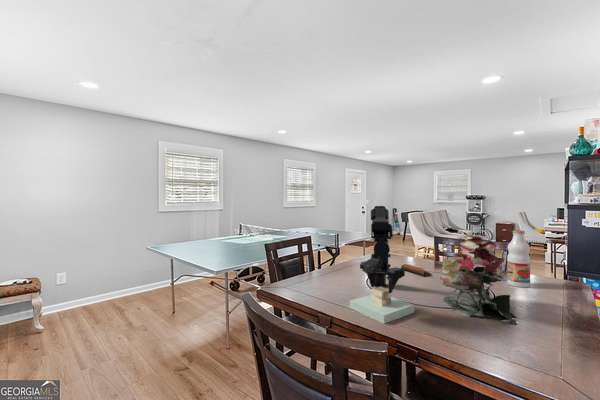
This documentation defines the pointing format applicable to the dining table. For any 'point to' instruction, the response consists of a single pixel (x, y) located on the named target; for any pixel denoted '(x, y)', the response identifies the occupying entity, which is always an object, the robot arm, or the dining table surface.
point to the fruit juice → (518, 261)
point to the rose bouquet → (476, 279)
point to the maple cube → (380, 296)
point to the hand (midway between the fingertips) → (381, 289)
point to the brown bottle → (415, 270)
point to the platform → (382, 309)
